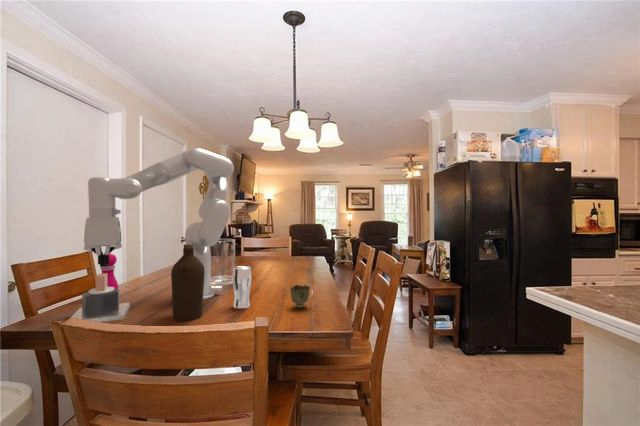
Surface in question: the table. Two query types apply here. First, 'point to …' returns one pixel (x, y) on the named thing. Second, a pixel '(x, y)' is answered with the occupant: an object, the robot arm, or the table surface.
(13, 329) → the table surface
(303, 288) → the cup
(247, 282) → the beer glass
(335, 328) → the table surface
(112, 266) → the pepper mill
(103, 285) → the beige blocky piece
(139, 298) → the table surface
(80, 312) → the grey tub on base
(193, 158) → the robot arm
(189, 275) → the olive oil
